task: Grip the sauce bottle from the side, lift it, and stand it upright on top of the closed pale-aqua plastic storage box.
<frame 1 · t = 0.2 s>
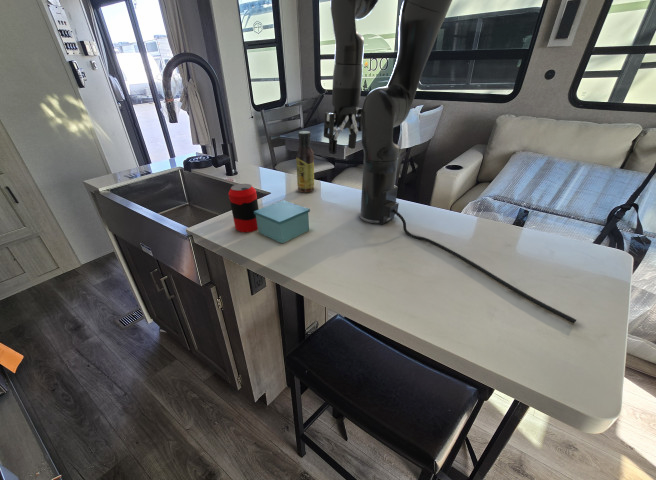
hand: (342, 150, 92), 17 cm above the kitchen counter, tool pointing down, fingers open, 8 cm apart
storage box: (283, 231, 89), on the kitchen counter
sauce bottle: (306, 191, 116), on the kitchen counter
soda can: (248, 227, 93), on the kitchen counter
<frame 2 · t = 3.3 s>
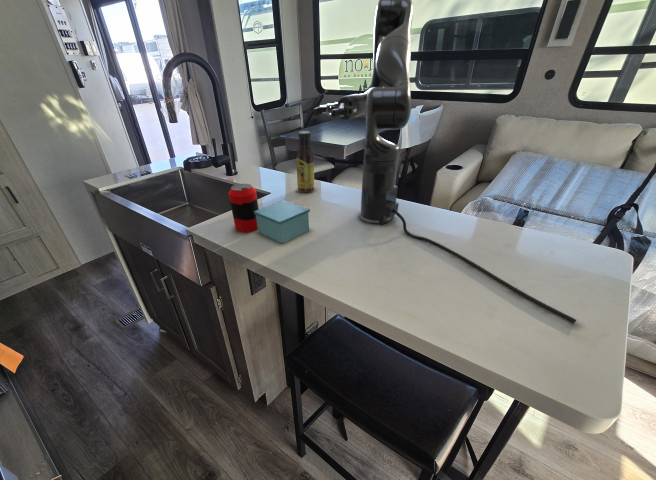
hand: (322, 113, 107), 24 cm above the kitchen counter, tool horizontal, fingers open, 8 cm apart
nothing on the kitchen counter moved.
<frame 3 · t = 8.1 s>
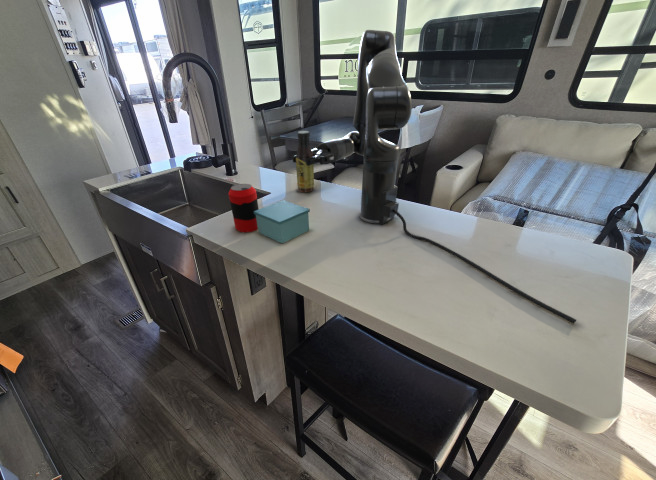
hand: (300, 160, 108), 11 cm above the kitchen counter, tool horizontal, fingers closed on sauce bottle, 6 cm apart
sauce bottle: (306, 191, 116), on the kitchen counter, touching gripper
everything else where it was.
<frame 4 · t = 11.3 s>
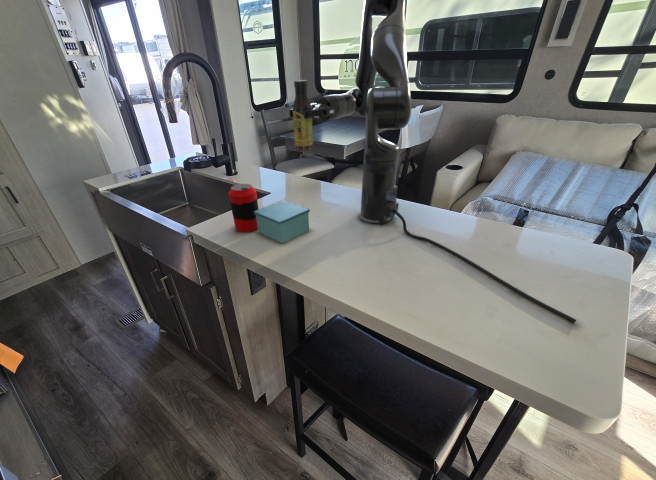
hand: (297, 114, 100), 25 cm above the kitchen counter, tool horizontal, fingers closed on sauce bottle, 6 cm apart
sauce bottle: (304, 150, 108), point 14 cm above the kitchen counter, touching gripper
everything else where it was.
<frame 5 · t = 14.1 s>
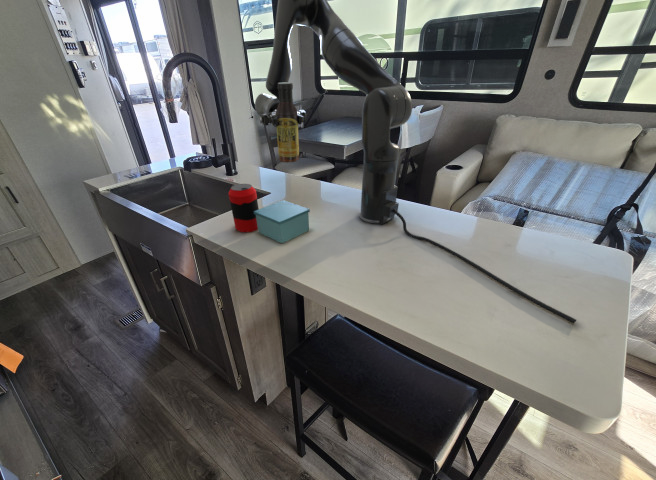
hand: (288, 121, 87), 26 cm above the kitchen counter, tool horizontal, fingers closed on sauce bottle, 6 cm apart
sauce bottle: (290, 161, 95), point 14 cm above the kitchen counter, touching gripper
everything else where it was.
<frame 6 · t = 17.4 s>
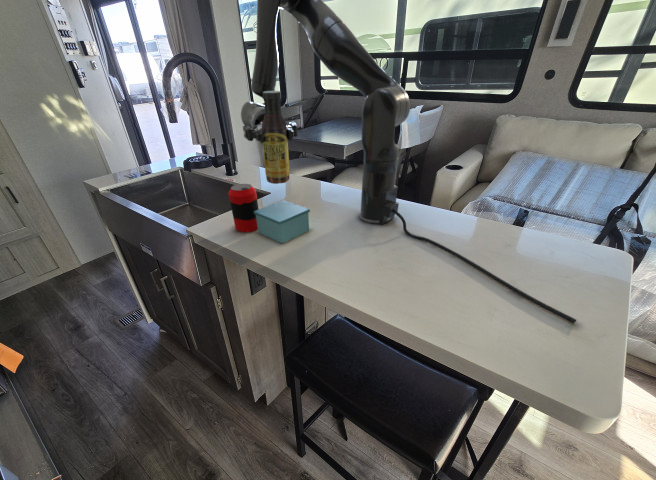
hand: (276, 136, 73), 25 cm above the kitchen counter, tool horizontal, fingers closed on sauce bottle, 6 cm apart
sauce bottle: (279, 181, 82), point 14 cm above the kitchen counter, touching gripper
everything else where it was.
when the fingers open (17 cm above the kitchen counter, at t = 20.1 s): sauce bottle stays where it is, resting on storage box.
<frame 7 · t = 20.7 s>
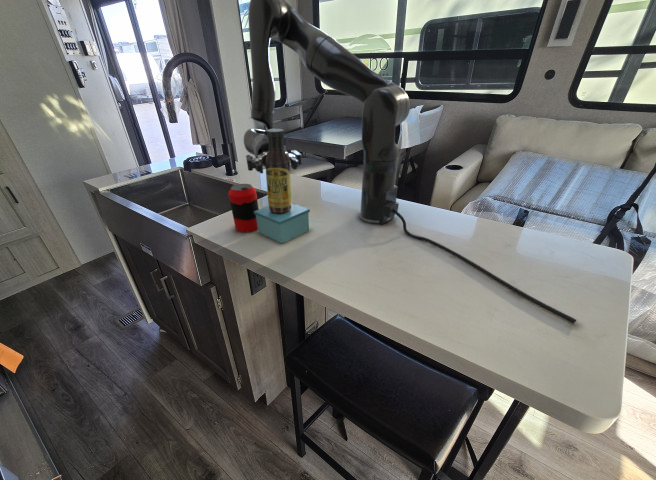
hand: (278, 167, 77), 18 cm above the kitchen counter, tool horizontal, fingers open, 8 cm apart
sauce bottle: (281, 210, 86), point 6 cm above the kitchen counter, touching storage box
everything else where it was.
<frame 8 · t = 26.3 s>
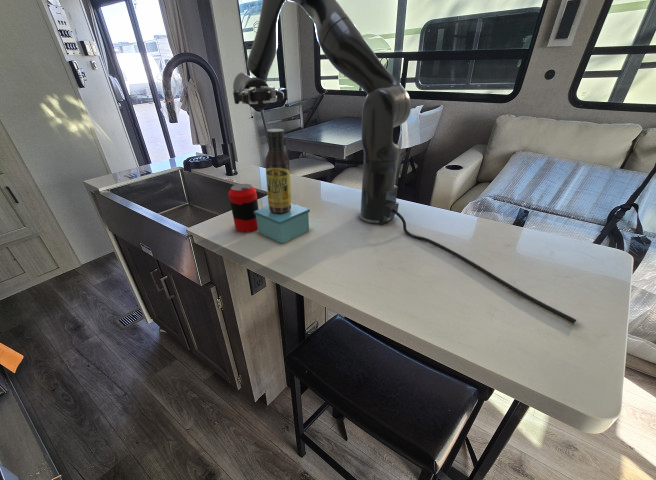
hand: (264, 97, 78), 32 cm above the kitchen counter, tool horizontal, fingers open, 8 cm apart
nothing on the kitchen counter moved.
at the end: sauce bottle inside the target area on the storage box (0.2 cm from its centre), point 6.2 cm above the storage box's base; sauce bottle tilted 0°; the gripper is holding nothing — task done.
